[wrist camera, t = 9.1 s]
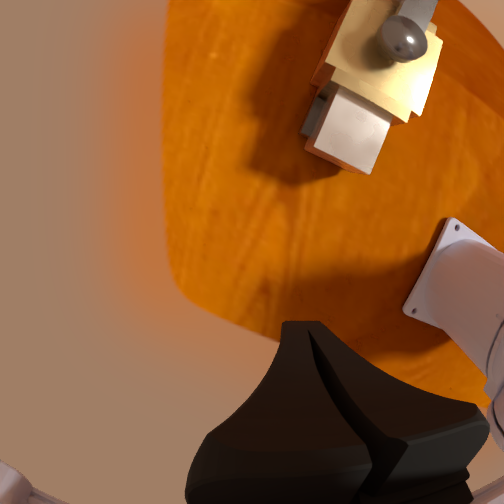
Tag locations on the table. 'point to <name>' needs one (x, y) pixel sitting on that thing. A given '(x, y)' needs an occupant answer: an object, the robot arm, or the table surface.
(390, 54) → the lever
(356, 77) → the valve
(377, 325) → the table surface
